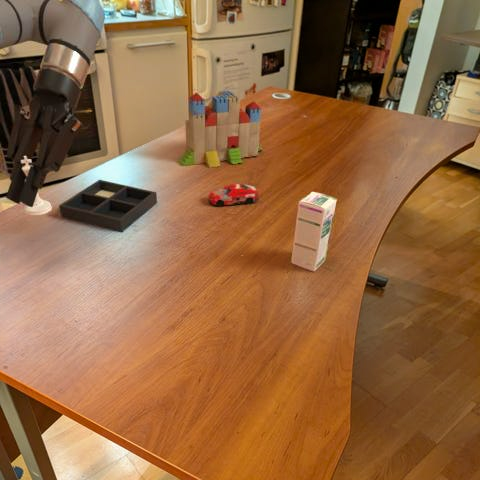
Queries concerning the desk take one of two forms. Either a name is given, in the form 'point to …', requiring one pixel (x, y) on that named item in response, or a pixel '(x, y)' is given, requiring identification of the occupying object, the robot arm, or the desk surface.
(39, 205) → the chess piece
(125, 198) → the grid
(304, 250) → the syrup box
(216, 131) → the block set
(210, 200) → the race car
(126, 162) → the desk surface
